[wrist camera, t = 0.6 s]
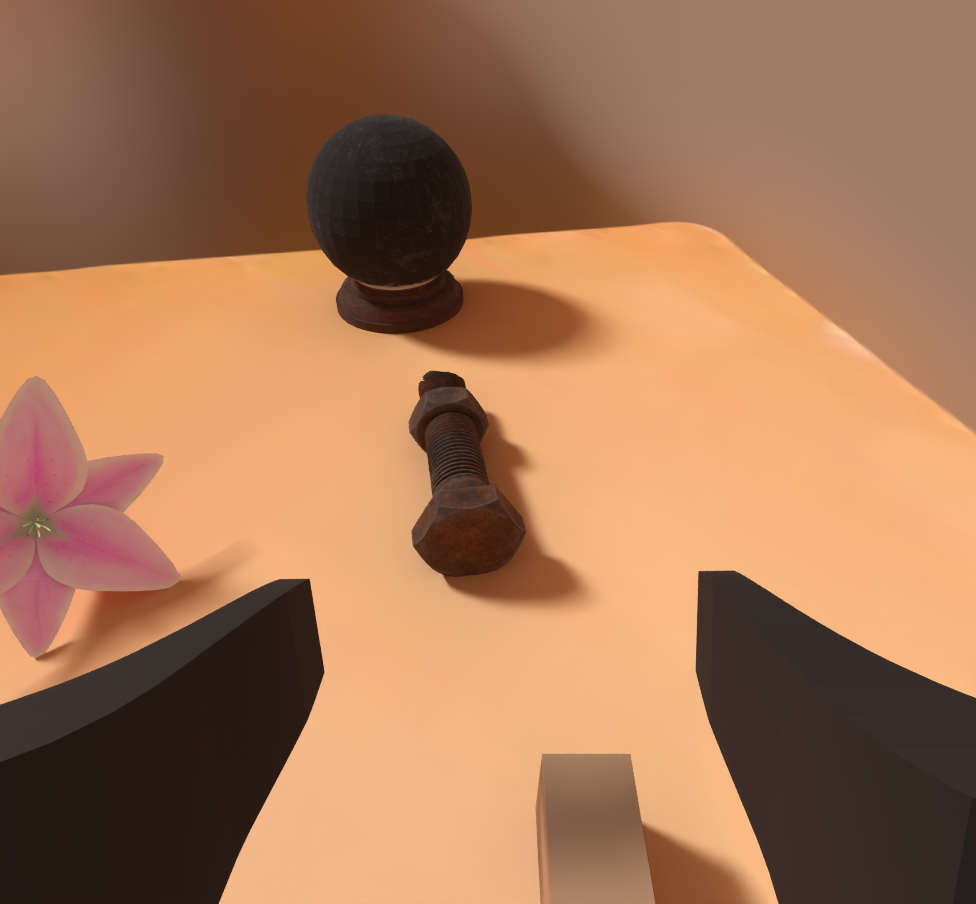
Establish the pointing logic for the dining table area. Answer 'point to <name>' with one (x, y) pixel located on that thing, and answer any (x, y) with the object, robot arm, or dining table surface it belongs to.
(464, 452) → the bolt
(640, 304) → the dining table surface
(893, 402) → the dining table surface
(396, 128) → the black ball on stand
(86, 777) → the robot arm
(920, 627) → the dining table surface
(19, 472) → the lily
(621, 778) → the slat
